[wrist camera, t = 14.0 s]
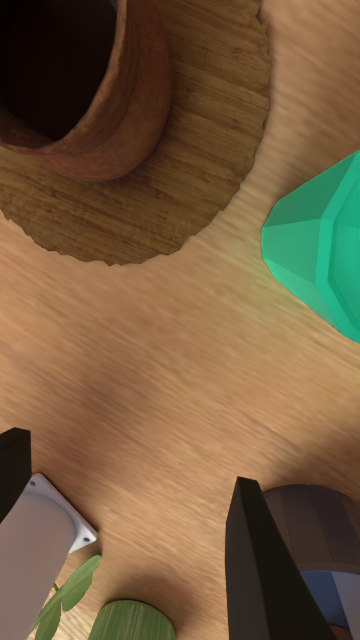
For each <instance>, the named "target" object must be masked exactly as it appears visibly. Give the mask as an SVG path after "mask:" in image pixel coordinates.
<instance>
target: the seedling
mask: <svg viewBox="0 0 360 640" xmlns="http://www.w3.org/2000/svg"><path fill="white" fill-rule="evenodd" d="M101 558H102V556H100V555H95V556H93V557H92V558H90V559H89V560H87V561H86V562H85V563H83V564H82V565H81V566H80V567H79V568H78V569H77V570H76V571H75V572H74V573H73V574H72V575H71V577H70V578H69V579H68V580H67V582H66V583H65V585H63V586H62V587H60V588H59V589H58V587H57V586H56V584H55V583H54V585H53V587H54V588H55V590H56V593H55V594H54V595H53V596H52V598H51V599H50V600H49V601H48V603H47V604H46V605H45V606H44V608H43V609H42V610H41V612H40V614H39V616H38V618H37V620H36V622H35V624H34V626H33V628H32V630H31V632H32V631H33V630H34V629H35V628H36V626H37V625H38V624H39V623H40V624H39V627H38V629H37V632H36V635H35V640H51V639H52V638H53V636H54V634H55V632H56V630H57V627H58V625H59V622H60V616H61V601H62V607H63V608H62V609H63V611H64V612H65V611H69V610H70V609H72V608H73V607H74V606H75V605H76V604H77V603H78V602H79V601H80V600H81V598H82V597H83V596H84V594H85V592H86V591H87V590H88V588H89V586H90V585H91V583H92V574H91V573H92V572H93V571H94V570H95V569H96V568H97V566H98V564H99V562H100V560H101ZM53 605H54V606H53ZM52 606H53V607H52ZM40 621H41V622H40ZM31 632H30V634H31Z"/></svg>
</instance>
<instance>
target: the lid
mask: <svg viewBox="0 0 360 640" xmlns="http://www.w3.org/2000/svg"><path fill="white" fill-rule="evenodd" d="M295 564H296V566H297V568H298V570H299V572H300V574H301V576H302V578H303V579H304V581H305V583H306V585H307V587H308V589H309V590H310V592H311V594H312V596H313V598H314V599H315V601H316V603H317V605H318V607H319V608H320V610H321V612H322V614H323V615H324V617H325V619H326V620H327V622H328V624H329V625H330V627H331V629H332V630H333V632H334V634H335V635H336V637H337V639H338V640H360V566H357V565H352V564H346V563H340V562H330V561H312V562H301V563H295Z"/></svg>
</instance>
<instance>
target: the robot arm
mask: <svg viewBox="0 0 360 640" xmlns="http://www.w3.org/2000/svg"><path fill="white" fill-rule="evenodd" d="M97 536H98V534H97V532H96V531H95V530H94V529H93V528H92V527H91V526H90V525H89V523H88V522H87V521H86V520H85V519H84V518H83V517H82V516H81V515H80V514H79V513H78V512H77V511H76V510H75V509H74V508H73V507H72V506H71V504H70V503H69V502H68V501H67V500H66V499H65V498H64V497H63V496H62V495H61V494H60V493H59V492H58V491H57V490H56V489H55V488H54V487H53V486H52V484H51V483H50V482H49V481H48V480H47V479H46V478H45V477H44V476H43V475H42V474H40V473H36V474H34V475H32V468H31V434H30V431H29V430H25V429H20V428H16V427H14V428H12V429H9V430H7V431H5V432H4V433H2V434H0V640H27V639H28V637H29V635H30V632H31V630H32V628H33V626H34V624H35V622H36V620H37V618H38V616H39V614H40V612H41V610H42V608H43V606H44V603H45V601H46V599H47V597H48V595H49V593H50V591H51V589H52V587H53V585H54V583H55V581H56V579H57V576H58V574H59V572H60V570H61V568H62V566H63V564H64V562H65V560H66V558H67V556H68V554H69V553H71V552H73V551H75V550H77V549H79V548H81V547H84V546H86V545H88V544H90V543H92V542H94V541H96V539H97ZM225 575H226V593H227V610H228V627H229V640H338V639H337V637H336V635H335V634H334V632H333V630H332V629H331V627H330V625H329V624H328V622H327V620H326V619H325V617H324V615H323V614H322V612H321V610H320V608H319V607H318V605H317V603H316V601H315V599H314V598H313V596H312V594H311V592H310V590H309V589H308V587H307V585H306V583H305V581H304V579H303V578H302V576H301V574H300V572H299V570H298V568H297V566H296V564H295V562H294V560H293V558H292V556H291V554H290V552H289V550H288V548H287V546H286V544H285V542H284V540H283V538H282V536H281V534H280V532H279V530H278V527H277V525H276V523H275V521H274V519H273V516H272V514H271V512H270V510H269V507H268V505H267V503H266V500H265V498H264V495H263V493H262V490H261V488H260V485H259V483H258V482H257V480H252V479H248V478H243V477H239V476H237V480H236V484H235V488H234V492H233V496H232V500H231V505H230V509H229V513H228V517H227V521H226V536H225Z"/></svg>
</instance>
